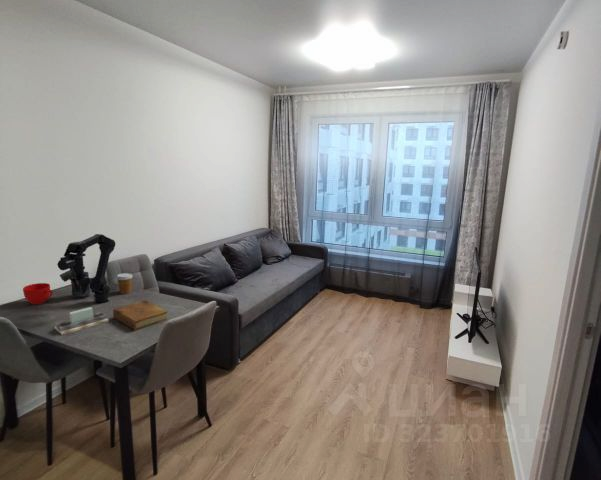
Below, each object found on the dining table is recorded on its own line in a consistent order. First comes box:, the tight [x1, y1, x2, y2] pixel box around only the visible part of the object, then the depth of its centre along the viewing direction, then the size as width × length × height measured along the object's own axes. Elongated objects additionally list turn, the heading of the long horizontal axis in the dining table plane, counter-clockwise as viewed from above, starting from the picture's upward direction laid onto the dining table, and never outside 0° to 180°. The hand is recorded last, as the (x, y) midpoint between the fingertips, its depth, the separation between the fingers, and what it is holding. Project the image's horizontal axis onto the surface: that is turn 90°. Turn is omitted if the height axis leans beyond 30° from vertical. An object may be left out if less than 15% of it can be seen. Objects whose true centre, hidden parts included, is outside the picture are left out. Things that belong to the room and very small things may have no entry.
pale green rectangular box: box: [69, 306, 94, 324], centre depth 184 cm, size 10×3×7 cm, turn 141°
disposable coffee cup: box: [116, 272, 134, 295], centre depth 232 cm, size 10×10×12 cm
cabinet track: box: [54, 311, 109, 336], centre depth 185 cm, size 22×10×3 cm, turn 141°
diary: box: [112, 299, 169, 332], centre depth 195 cm, size 23×19×6 cm
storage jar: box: [70, 271, 91, 300], centre depth 221 cm, size 10×10×15 cm
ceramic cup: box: [22, 282, 53, 305], centre depth 210 cm, size 13×17×10 cm
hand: (79, 291), depth 198 cm, fingers open, 9 cm apart
